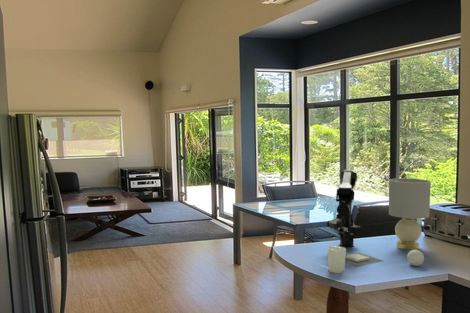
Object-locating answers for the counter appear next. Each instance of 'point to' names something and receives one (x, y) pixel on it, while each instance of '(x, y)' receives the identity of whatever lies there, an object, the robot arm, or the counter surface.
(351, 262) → the mat
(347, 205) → the robot arm
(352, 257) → the tile
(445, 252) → the counter surface
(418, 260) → the seamed sphere
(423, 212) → the lamp
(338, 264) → the white cup
